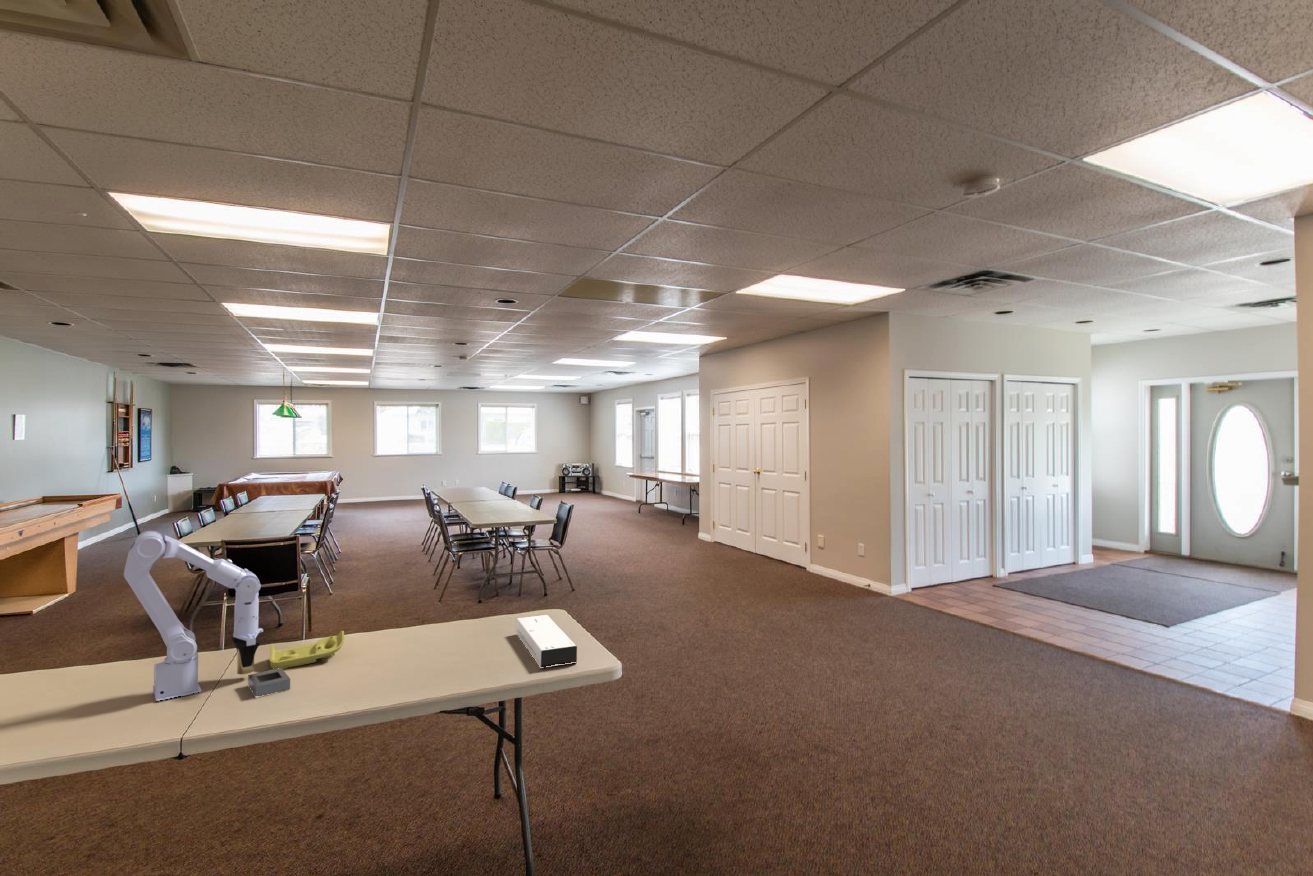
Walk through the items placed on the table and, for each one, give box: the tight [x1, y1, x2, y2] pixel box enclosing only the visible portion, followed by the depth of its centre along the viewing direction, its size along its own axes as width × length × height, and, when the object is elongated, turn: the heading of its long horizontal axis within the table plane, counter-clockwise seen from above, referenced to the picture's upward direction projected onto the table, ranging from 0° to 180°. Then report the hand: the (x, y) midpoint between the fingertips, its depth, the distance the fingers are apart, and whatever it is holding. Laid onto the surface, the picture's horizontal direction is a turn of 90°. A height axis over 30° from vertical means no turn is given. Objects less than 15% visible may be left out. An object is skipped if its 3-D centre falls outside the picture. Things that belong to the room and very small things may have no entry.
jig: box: [247, 668, 291, 697], centre depth 169 cm, size 8×10×3 cm
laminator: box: [515, 614, 578, 667], centre depth 203 cm, size 34×12×6 cm, turn 25°
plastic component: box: [268, 630, 345, 670], centre depth 190 cm, size 20×7×10 cm
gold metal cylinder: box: [236, 650, 255, 675], centre depth 174 cm, size 4×4×7 cm
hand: (245, 664), depth 174 cm, fingers closed on gold metal cylinder, 4 cm apart
